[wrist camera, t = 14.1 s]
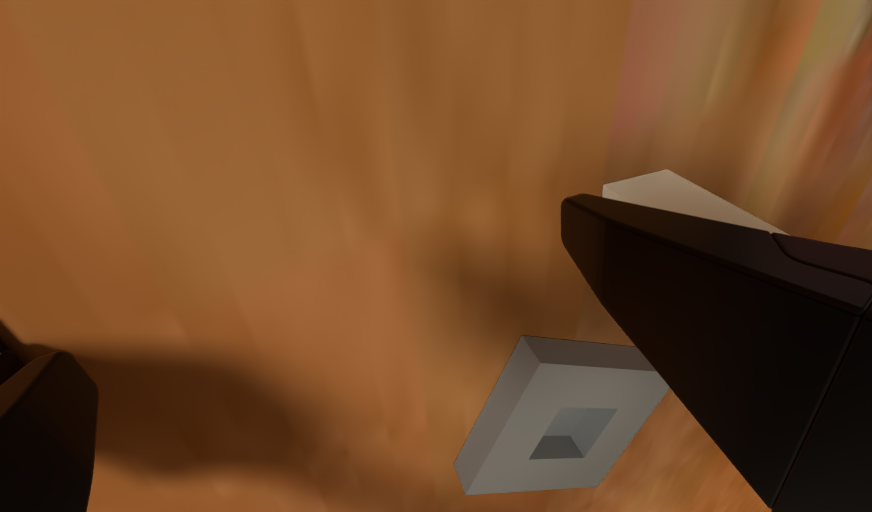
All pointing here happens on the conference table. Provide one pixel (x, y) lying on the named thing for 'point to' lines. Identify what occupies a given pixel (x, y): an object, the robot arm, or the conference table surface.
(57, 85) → the conference table surface
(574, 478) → the grey square frame
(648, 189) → the plug
